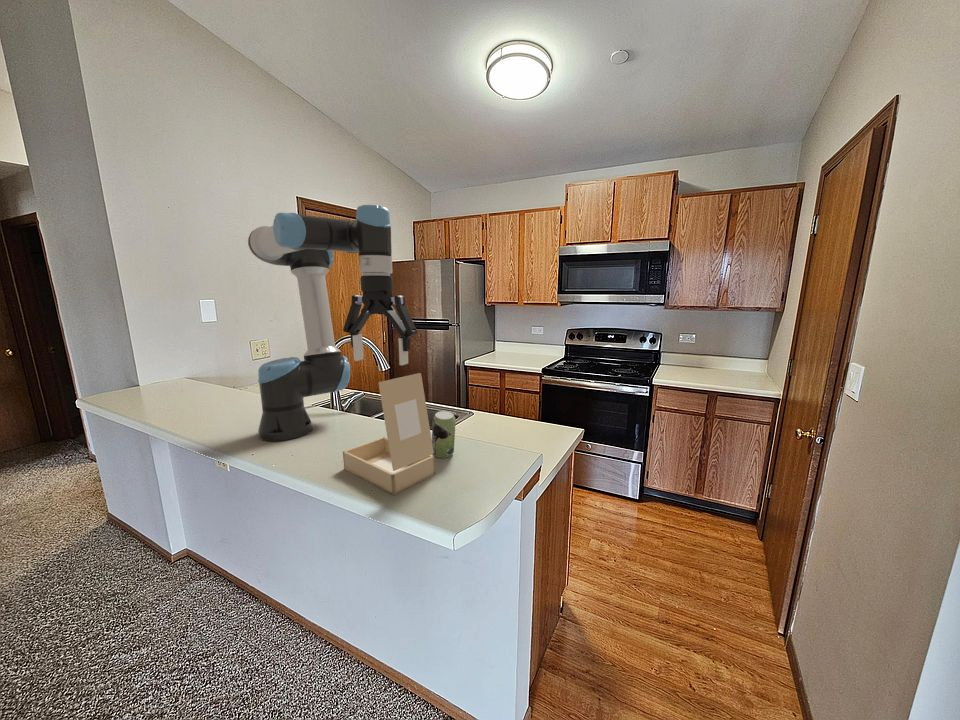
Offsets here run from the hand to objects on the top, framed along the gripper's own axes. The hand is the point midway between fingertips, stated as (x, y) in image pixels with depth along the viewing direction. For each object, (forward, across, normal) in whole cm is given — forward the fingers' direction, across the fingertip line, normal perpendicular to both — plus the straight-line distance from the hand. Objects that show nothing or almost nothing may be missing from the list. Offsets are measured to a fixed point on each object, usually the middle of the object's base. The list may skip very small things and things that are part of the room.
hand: (380, 362), depth 94 cm
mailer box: (+26, +5, -5) cm, 27 cm away
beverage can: (+26, +13, +8) cm, 30 cm away
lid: (+11, +12, -7) cm, 18 cm away
